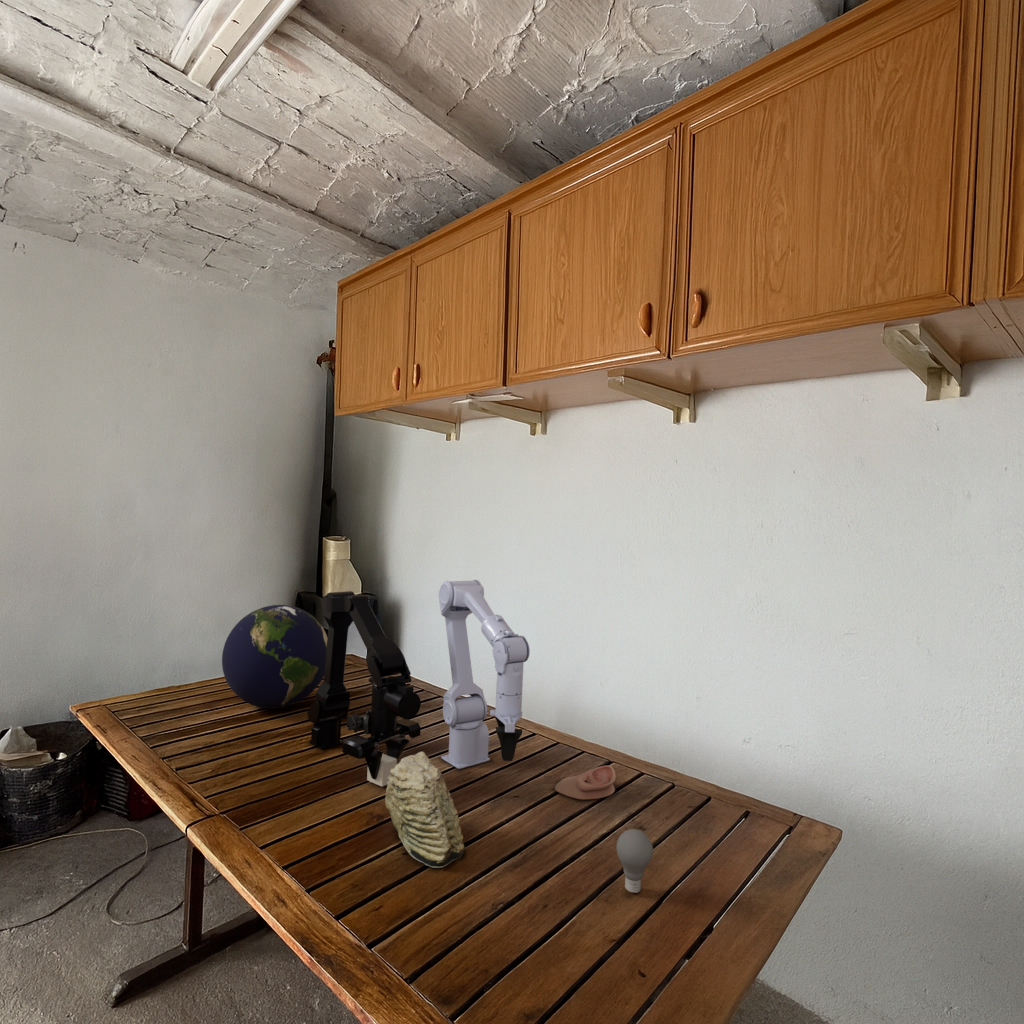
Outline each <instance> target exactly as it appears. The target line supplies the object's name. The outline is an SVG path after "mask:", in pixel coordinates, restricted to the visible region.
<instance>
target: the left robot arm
mask: <svg viewBox="0 0 1024 1024" xmlns="http://www.w3.org/2000/svg"><path fill="white" fill-rule="evenodd" d="M321 608H322V616H323V618H324V621H325V622H326V624H327V628H328V629H327V649H326V661H325V672H324V677H323V681H322V683H320V684H319V686H318V687H317V689H316V691H315V695H314V701H313V702H312V704H311V705H310V707H309V708H308V709H307V712H306V713H307V720H308V722H310V723H312V727H311V730H310V731H311V732H310V733H311V735H310V739H309V740H308V743H309V744H310V745H313V746H314V747H316V748H318V749H320V750H327V749H329V748H333V747H336V746H340V745H342V750H341V752H342V753H343V754H345V755H348V756H351V757H352V758H355V759H357V760H363V759H364V760H365V762H366V766H367V769H368V768H369V771H370V774H371V777H372V779H374V780H375V779H376V778H377V775H378V772H379V767H380V763H381V759H382V754H384V751H381V750H380V749H379V748H380V744H381V743H384V744H385V746H386V747H385V748H386V755H388V756H391V757H393V758H396V759H397V762H398V760H399V759H400V758H401V757H400V756H401V755H402V753H403V752H404V750H405V748H406V747H407V746H408V745H409V744H410V739H414V738H417V737H420V736H421V733H422V732H421V731H422V727H421V726H420V723H419V722H417V721H414V720H411V719H413V718H415V717H416V716H417V714H419V712H420V710H421V707H422V701H421V697H420V695H419V694H418V693H416V692H414V690H415V689H414V688H415V687H414V686H413V685H411V684H408V683H412V676H411V674H412V673H411V670H410V669H409V668H410V667H409V666H408V664H407V660H406V657H405V656H404V653H403V651H402V650H401V648H400V647H399V646H398V645H397V643H396V642H395V641H392V640H390V638H388V637H387V636H386V634H385V632H384V630H383V628H382V626H381V624H380V622H379V621H378V619H377V617H376V614H375V613H374V611H373V610H372V607H371V604H370V599H369V596H368V595H366V594H355V592H353V591H352V590H347V591H331V592H327V593H326V595H324V596H323V598H322V600H321ZM353 623H354V625H355V628H356V629H357V632H358V634H359V636H360V638H361V640H362V642H363V644H364V647H365V649H366V655H365V662H366V667H367V670H368V672H369V674H370V677H369V678H368V682H369V683H370V684H372V685H371V686H372V687H371V708H370V709H367V710H366V713H365V714H362V715H359V714H358V713H355V714H351V715H348V714H349V710H350V706H351V701H350V699H351V692H350V691H349V690H348V689H347V687H346V685H345V683H344V680H345V672H346V671H345V669H346V658H347V646H348V636H349V628H350V626H351V625H352V624H353ZM398 717H399V718H401V719H398ZM342 720H346V727H347V730H348V731H353V733H355V734H356V735H354V736H351V737H349V738H346V739H345V740H343V739H341V737H342V735H341V733H342ZM358 732H363V734H365V735H370V736H369V737H365V736H362V735H359V734H357V733H358ZM406 734H408V736H409V737H410V739H407V738H406Z"/></svg>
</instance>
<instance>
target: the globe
mask: <svg viewBox="0 0 1024 1024" xmlns="http://www.w3.org/2000/svg"><path fill="white" fill-rule="evenodd" d="M327 638H328V634H327V633H326V631H325V629H324V627H323V626H322V624H321V623H320V621H318V619H317V618H315V616H314V615H312V614H311V613H310V612H308V611H305V610H304V609H302V608H299V607H297V606H292V605H290V604H289V605H288V604H272V605H266V606H263V607H260V608H257V609H255V610H253V611H251V612H250V613H248V614H246V615H245V616H243V618H241V619H240V620H239V621H238V622H237V623H235V625H234V627H232V629H231V631H230V632H229V634H228V635H227V637H226V640H225V642H224V645H223V649H222V654H221V666H222V672H223V676H224V678H225V679H224V680H225V681H226V683H227V685H228V687H229V688H230V689H231V691H232V692H233V693H234V694H235V695H236V696H237V697H238V698H239V699H240V700H242V701H244V702H245V703H247V704H248V705H251V706H254V707H258V708H262V709H282V708H285V707H289V706H293V705H295V704H298V703H299V702H301V701H303V700H304V699H306V698H307V697H309V696H310V695H311V694H312V693H313V692H314V691H315V690H317V689H318V687H319V686H320V685H321V682H323V681H322V680H324V672H325V661H326V649H327Z"/></svg>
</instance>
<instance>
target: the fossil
mask: <svg viewBox="0 0 1024 1024" xmlns="http://www.w3.org/2000/svg"><path fill="white" fill-rule="evenodd" d="M387 779H388V780H389V781H388V782H387V785H386V789H385V798H384V800H385V802H384V804H385V807H386V810H387V811H388V812H389V814H390V815H389V816H390V818H391V822H392V825H393V827H394V828H395V830H396V831H397V833H398V834H397V835H398V838H399V839H400V842H402V845H403V847H404V848H405V850H406V851H407V853H408V854H409V855H410V856H411V857H412V858H413V859H415V860H416V861H418V862H420V863H422V864H423V865H424V866H428V867H430V868H433V869H440V868H441V869H442V868H444V867H447V866H448V865H450V864H451V863H452V862H453V861H457V860H459V859H461V857H462V856H463V854H464V853H465V852H466V848H465V844H464V835H463V833H462V826H461V820H460V817H459V812H458V809H457V808H456V806H455V803H454V799H453V798H452V795H451V792H450V791H449V789H448V787H447V783H446V781H445V778H444V775H443V773H442V770H441V769H440V768H437V767H436V766H435V764H434V763H433V762H432V760H431V759H430V758H429V757H428V756H427V754H426V753H425V752H424V751H419V752H417V753H416V754H410V755H408V756H405V757H403V758H401V759H400V761H399V762H398V763H397V765H396V766H395V768H394V769H391V770H390V776H388V778H387Z"/></svg>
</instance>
